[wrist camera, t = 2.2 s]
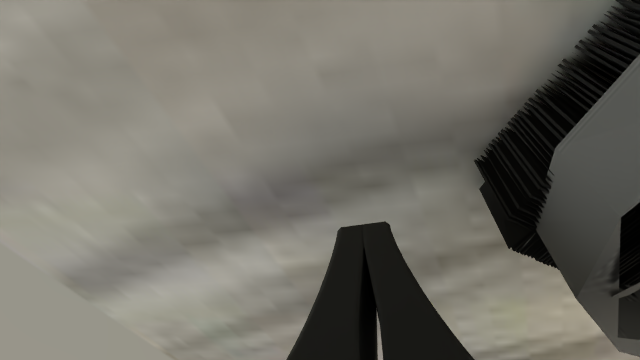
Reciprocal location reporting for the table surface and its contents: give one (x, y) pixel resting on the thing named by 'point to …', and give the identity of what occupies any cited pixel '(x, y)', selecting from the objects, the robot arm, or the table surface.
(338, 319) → the robot arm
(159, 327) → the table surface
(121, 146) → the table surface
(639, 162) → the cpu cooler
